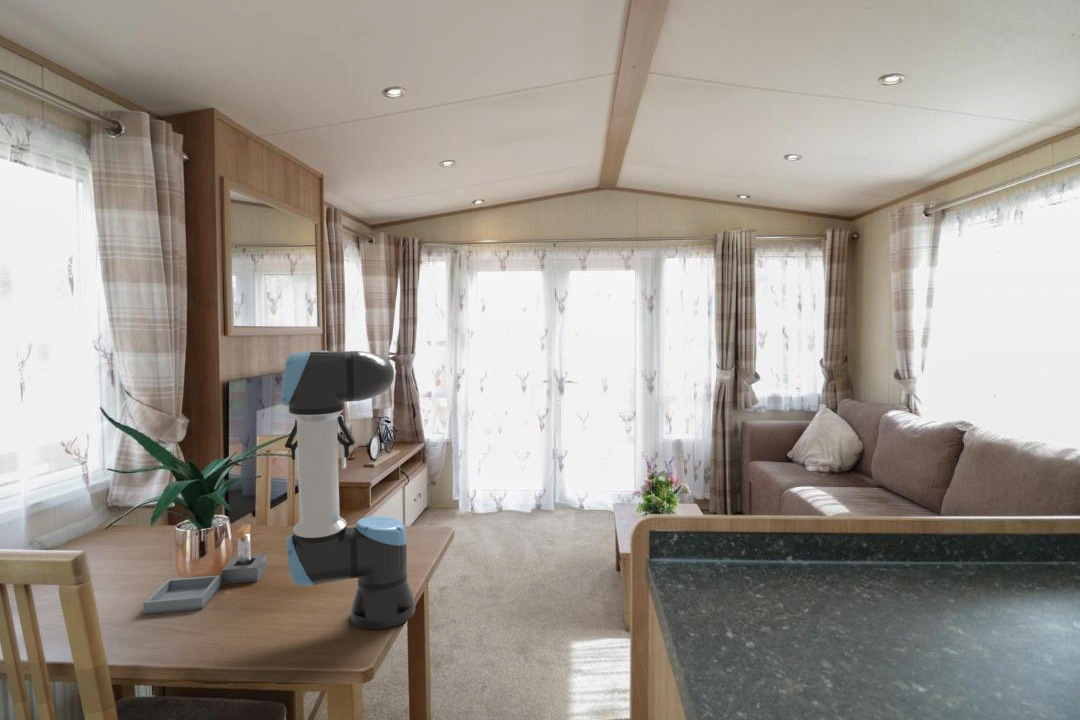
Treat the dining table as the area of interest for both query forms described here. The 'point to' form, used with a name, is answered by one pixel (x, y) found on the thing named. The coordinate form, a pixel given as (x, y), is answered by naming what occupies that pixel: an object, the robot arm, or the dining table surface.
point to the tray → (182, 595)
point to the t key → (244, 545)
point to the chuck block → (244, 570)
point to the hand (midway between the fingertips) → (321, 469)
